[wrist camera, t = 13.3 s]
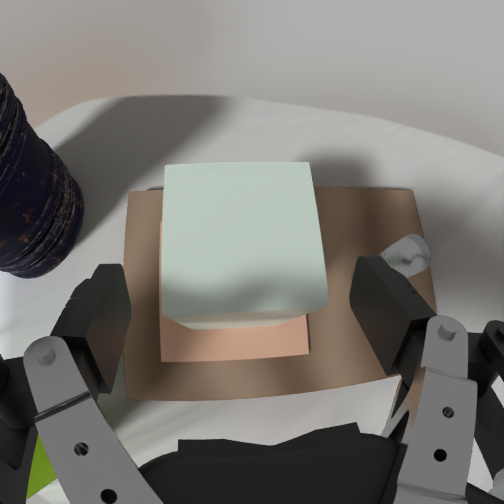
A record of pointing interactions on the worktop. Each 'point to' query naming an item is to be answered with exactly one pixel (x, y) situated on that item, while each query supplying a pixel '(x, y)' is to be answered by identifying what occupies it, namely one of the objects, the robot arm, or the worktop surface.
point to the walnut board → (318, 322)
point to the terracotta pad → (229, 339)
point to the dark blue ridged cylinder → (33, 196)
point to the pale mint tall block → (240, 245)
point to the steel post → (407, 255)
